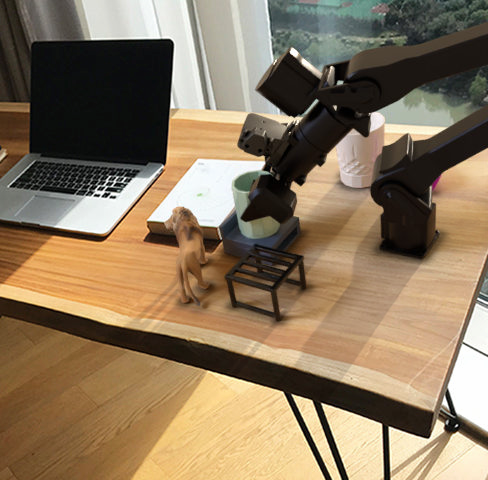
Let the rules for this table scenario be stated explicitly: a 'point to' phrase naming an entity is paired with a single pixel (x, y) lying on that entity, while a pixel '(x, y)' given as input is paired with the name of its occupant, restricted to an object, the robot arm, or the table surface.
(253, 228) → the tumbler
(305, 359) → the table surface
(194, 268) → the lion figurine
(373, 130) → the white cup
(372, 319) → the table surface
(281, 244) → the shelf
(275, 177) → the robot arm
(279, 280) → the rack
